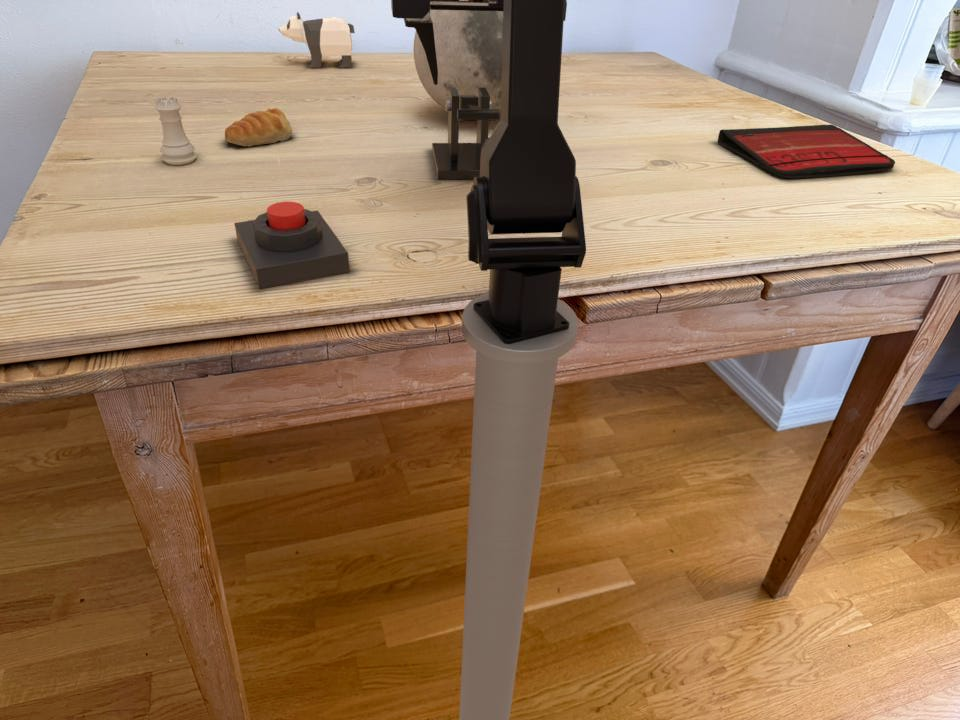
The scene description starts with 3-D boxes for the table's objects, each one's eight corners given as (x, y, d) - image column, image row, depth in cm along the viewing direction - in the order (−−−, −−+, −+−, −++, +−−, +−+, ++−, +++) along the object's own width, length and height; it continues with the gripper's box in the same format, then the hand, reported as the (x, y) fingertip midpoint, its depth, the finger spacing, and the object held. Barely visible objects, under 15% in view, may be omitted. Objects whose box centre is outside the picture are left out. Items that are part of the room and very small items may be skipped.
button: (309, 229, 68) (308, 212, 67) (273, 234, 67) (271, 218, 66) (300, 215, 71) (298, 199, 70) (265, 220, 69) (263, 204, 68)
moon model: (393, 123, 108) (388, -19, 96) (444, 93, 123) (445, -33, 112) (510, 143, 103) (520, -5, 91) (548, 109, 118) (561, -21, 106)
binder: (719, 127, 105) (832, 122, 110) (715, 142, 107) (826, 136, 112) (781, 169, 93) (904, 160, 98) (775, 185, 95) (897, 176, 100)
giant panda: (356, 61, 140) (353, 10, 135) (357, 68, 136) (353, 15, 130) (283, 61, 138) (277, 9, 132) (282, 68, 133) (275, 14, 128)
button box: (349, 272, 69) (346, 236, 66) (259, 289, 65) (253, 251, 63) (319, 228, 76) (316, 194, 74) (237, 241, 73) (231, 206, 71)
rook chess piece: (163, 167, 89) (148, 105, 84) (161, 156, 92) (146, 95, 88) (198, 163, 91) (186, 102, 86) (195, 152, 94) (183, 93, 89)
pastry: (242, 152, 95) (237, 125, 92) (215, 141, 98) (210, 114, 96) (297, 138, 101) (294, 111, 98) (270, 127, 104) (266, 102, 102)
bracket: (504, 178, 91) (509, 103, 85) (437, 179, 90) (438, 103, 84) (493, 150, 100) (496, 81, 94) (432, 151, 98) (432, 80, 93)
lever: (499, 125, 81) (500, 104, 80) (458, 125, 81) (458, 104, 80) (485, 114, 92) (486, 95, 91) (449, 114, 91) (449, 95, 90)
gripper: (551, -77, 77) (539, 68, 86) (387, -84, 75) (392, 66, 84) (576, -69, 68) (558, 92, 78) (390, -76, 66) (395, 91, 75)
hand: (474, 84), depth 79 cm, fingers open, 9 cm apart
